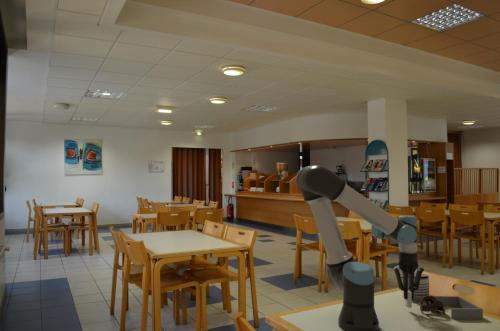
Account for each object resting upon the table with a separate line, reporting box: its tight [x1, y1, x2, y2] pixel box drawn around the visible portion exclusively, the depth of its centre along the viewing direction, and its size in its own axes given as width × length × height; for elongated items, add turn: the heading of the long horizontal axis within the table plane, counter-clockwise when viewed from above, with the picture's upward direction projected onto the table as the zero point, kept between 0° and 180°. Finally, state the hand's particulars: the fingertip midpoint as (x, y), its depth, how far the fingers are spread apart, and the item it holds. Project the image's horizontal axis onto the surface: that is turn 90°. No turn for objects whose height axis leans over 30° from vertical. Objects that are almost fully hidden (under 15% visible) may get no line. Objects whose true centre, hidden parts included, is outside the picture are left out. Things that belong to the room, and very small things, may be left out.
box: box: [433, 295, 484, 320], centre depth 170 cm, size 12×18×4 cm
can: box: [408, 272, 430, 304], centre depth 188 cm, size 11×11×12 cm
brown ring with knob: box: [419, 294, 446, 315], centre depth 170 cm, size 12×10×8 cm
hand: (408, 306), depth 170 cm, fingers closed
